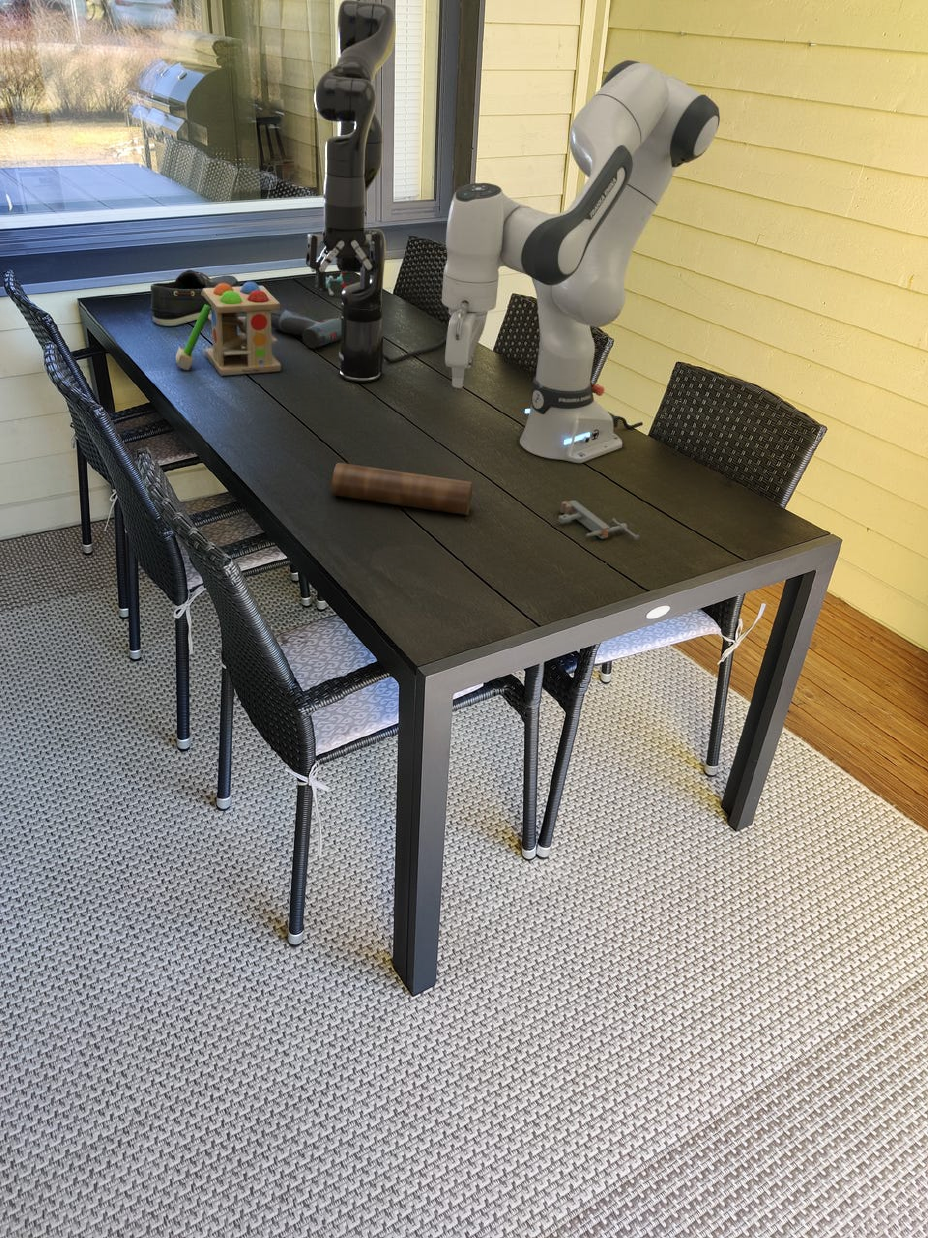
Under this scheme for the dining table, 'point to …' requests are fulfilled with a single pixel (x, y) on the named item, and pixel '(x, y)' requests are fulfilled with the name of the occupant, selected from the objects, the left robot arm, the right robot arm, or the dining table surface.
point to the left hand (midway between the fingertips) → (343, 289)
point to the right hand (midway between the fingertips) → (462, 376)
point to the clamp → (582, 515)
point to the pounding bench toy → (229, 347)
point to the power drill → (307, 327)
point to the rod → (402, 488)
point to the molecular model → (330, 279)
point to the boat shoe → (183, 297)
